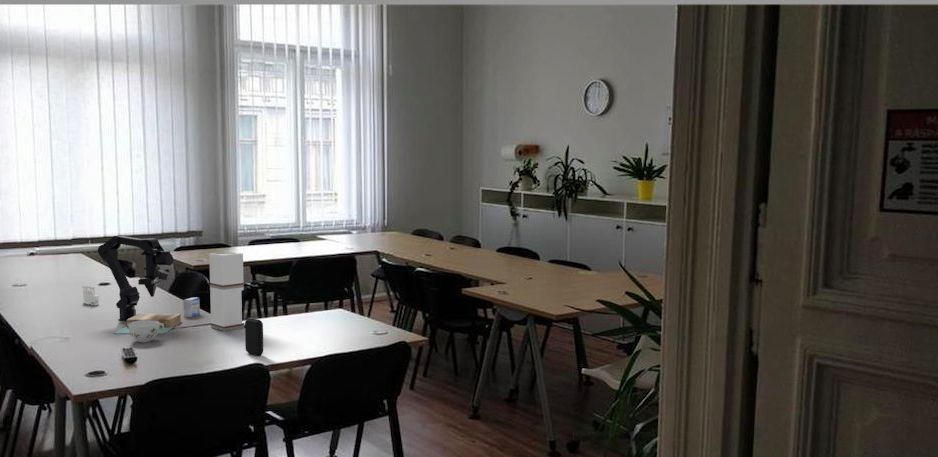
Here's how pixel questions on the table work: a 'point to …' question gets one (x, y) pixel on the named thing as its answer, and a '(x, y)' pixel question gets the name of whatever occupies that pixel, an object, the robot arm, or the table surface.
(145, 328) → the teacup
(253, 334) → the carrying case or bag
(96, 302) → the ink cartridge box
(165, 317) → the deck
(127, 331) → the mat
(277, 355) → the table surface
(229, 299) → the white square table lamp
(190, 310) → the medicine box
